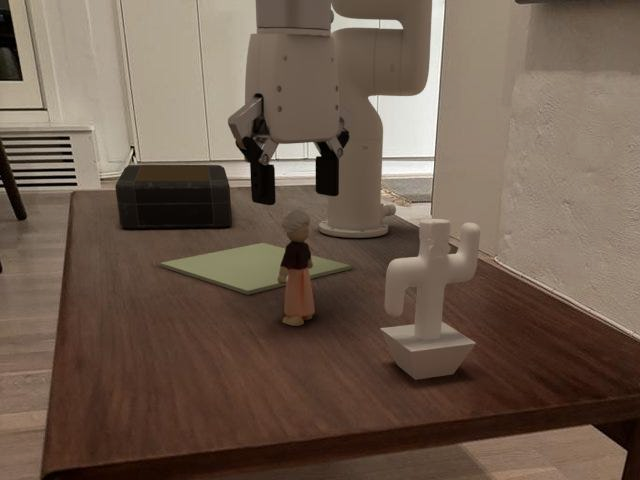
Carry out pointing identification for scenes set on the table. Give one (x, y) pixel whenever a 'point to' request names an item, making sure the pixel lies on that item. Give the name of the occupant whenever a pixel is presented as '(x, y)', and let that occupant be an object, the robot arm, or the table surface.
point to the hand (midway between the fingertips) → (296, 199)
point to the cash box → (173, 197)
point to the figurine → (430, 300)
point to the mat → (246, 267)
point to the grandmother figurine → (297, 270)
